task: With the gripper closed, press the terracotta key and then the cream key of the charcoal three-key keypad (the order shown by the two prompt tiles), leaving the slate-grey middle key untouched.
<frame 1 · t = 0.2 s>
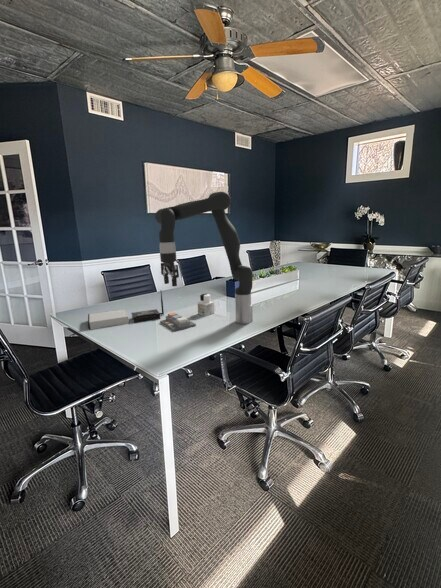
hand: (170, 284, 145), 29 cm above the table, fingers open, 8 cm apart
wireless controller: (149, 318, 189), on the table
keypad: (177, 324, 175), on the table
key cream: (181, 320, 169), point 4 cm above the table, slide at 0.0 cm
key slate: (177, 317, 174), point 4 cm above the table, slide at 0.0 cm
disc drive: (108, 323, 184), on the table
container: (206, 313, 193), on the table
key terracotta: (172, 315, 179), point 4 cm above the table, slide at 0.0 cm
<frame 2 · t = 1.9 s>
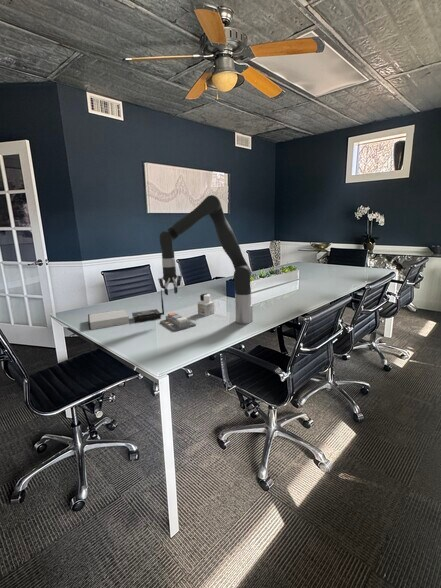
hand: (171, 293, 175), 17 cm above the table, fingers open, 5 cm apart
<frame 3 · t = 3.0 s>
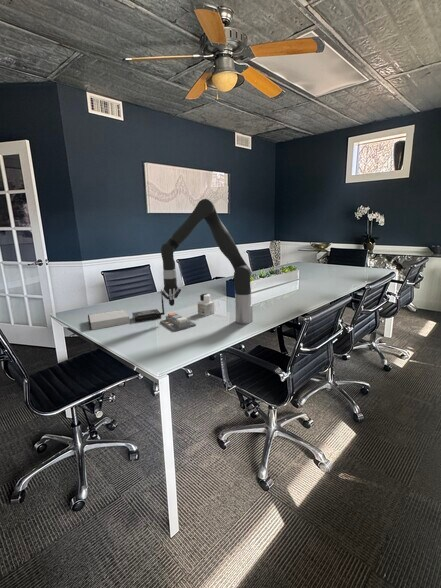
hand: (171, 305, 177), 10 cm above the table, fingers closed
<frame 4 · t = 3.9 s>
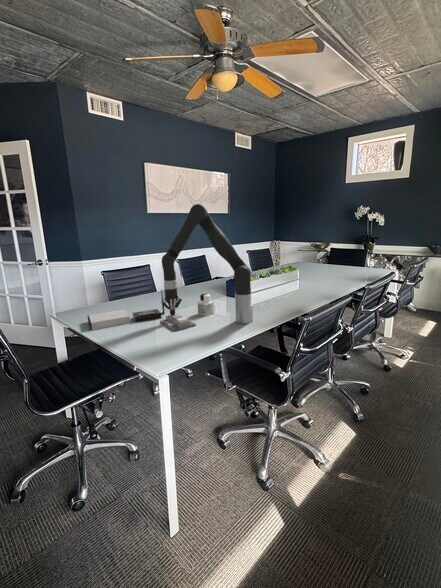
hand: (172, 315, 179), 4 cm above the table, fingers closed
key terracotta: (172, 316, 179), point 3 cm above the table, slide at 0.9 cm, touching gripper
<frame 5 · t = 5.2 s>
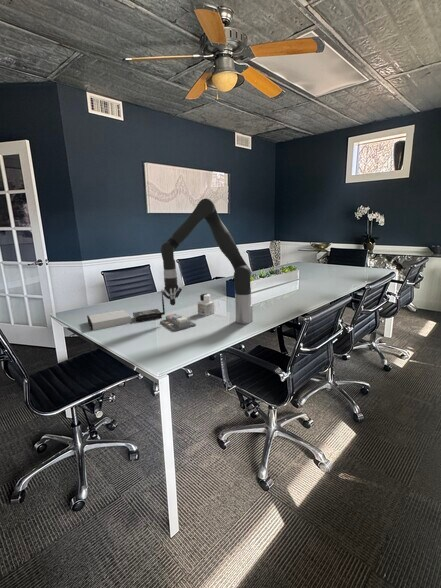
hand: (172, 304, 176), 11 cm above the table, fingers closed
key terracotta: (173, 317, 179), point 2 cm above the table, slide at 1.5 cm
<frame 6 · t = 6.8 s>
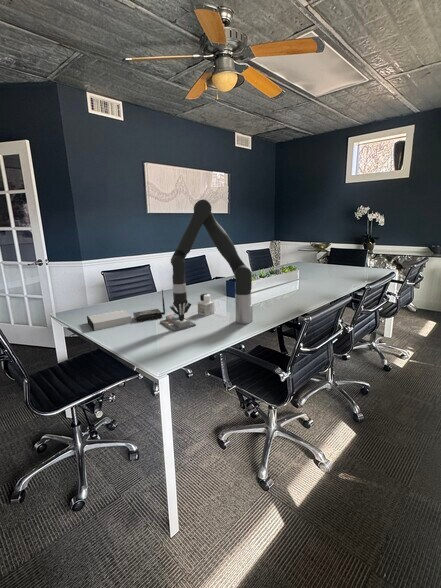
hand: (181, 320, 169), 4 cm above the table, fingers closed
key cream: (181, 322, 169), point 3 cm above the table, slide at 1.1 cm, touching gripper
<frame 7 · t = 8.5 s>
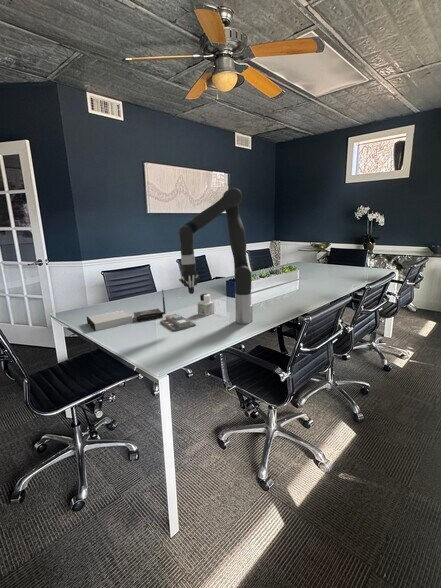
hand: (191, 293, 165), 20 cm above the table, fingers closed
key cream: (182, 322, 169), point 2 cm above the table, slide at 1.5 cm
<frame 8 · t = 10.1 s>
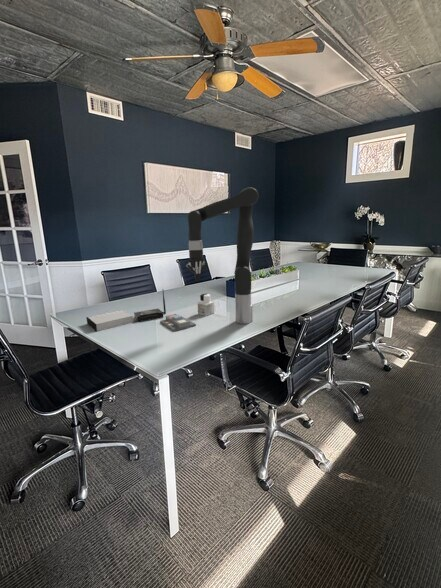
hand: (197, 280, 164), 27 cm above the table, fingers closed
at the end: key terracotta slide at 1.5 cm; key cream slide at 1.5 cm; key slate slide at 0.0 cm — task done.
